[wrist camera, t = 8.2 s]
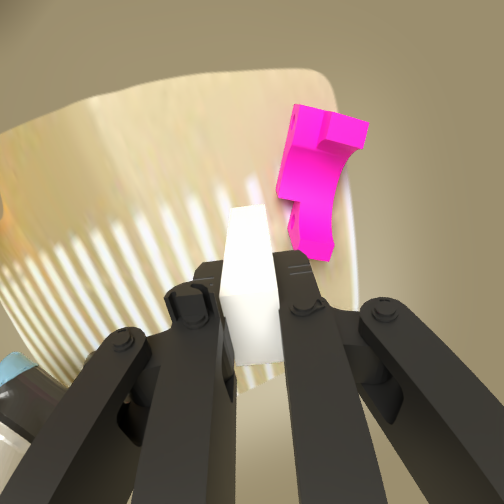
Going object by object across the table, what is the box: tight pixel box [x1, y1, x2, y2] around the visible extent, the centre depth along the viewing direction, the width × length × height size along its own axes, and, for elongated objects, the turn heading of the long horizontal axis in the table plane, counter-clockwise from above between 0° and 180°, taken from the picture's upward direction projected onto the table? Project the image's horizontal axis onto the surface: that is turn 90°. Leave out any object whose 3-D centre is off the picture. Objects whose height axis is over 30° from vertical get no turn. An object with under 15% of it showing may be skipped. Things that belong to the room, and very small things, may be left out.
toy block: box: [276, 104, 369, 262], centre depth 32 cm, size 15×6×8 cm, turn 169°
